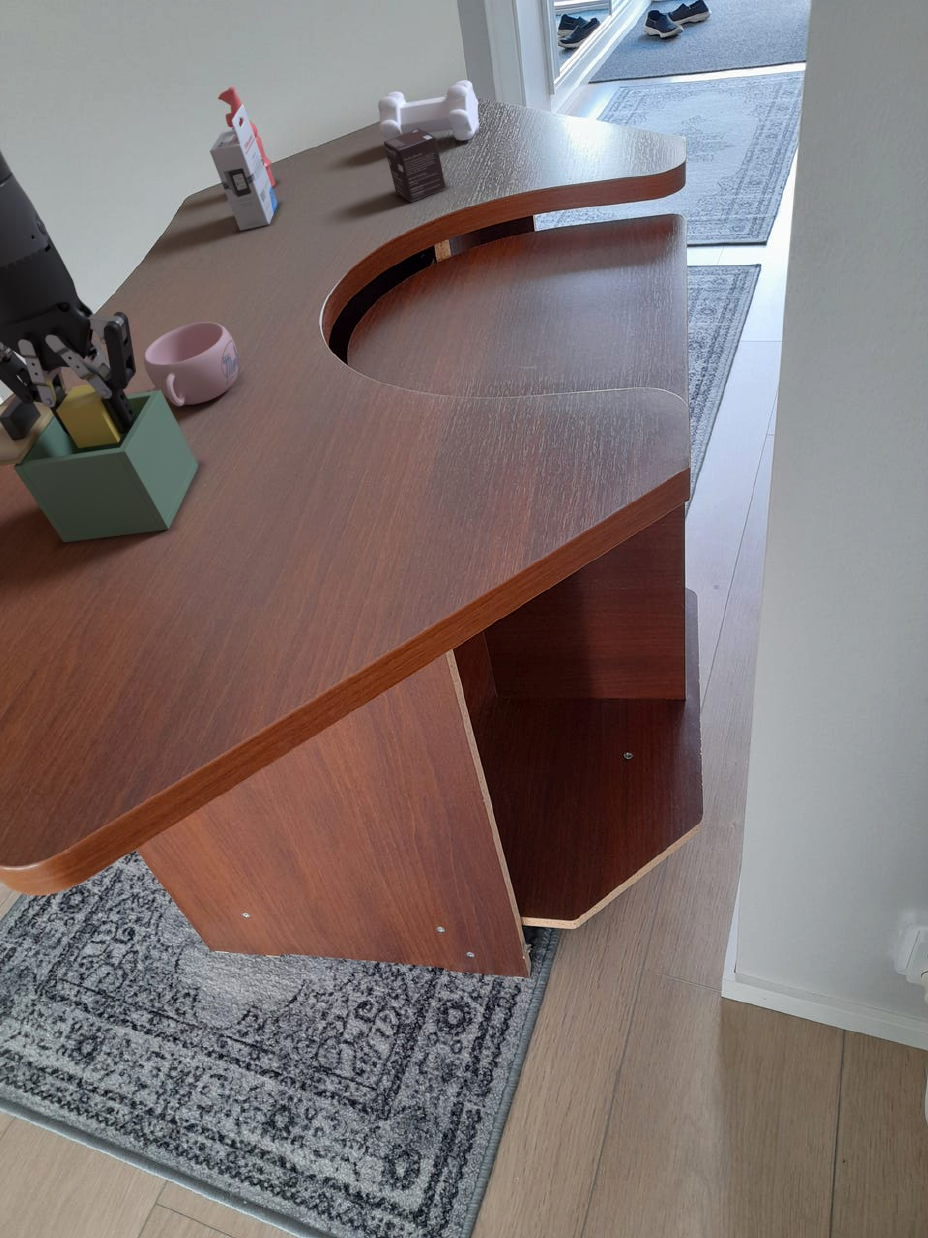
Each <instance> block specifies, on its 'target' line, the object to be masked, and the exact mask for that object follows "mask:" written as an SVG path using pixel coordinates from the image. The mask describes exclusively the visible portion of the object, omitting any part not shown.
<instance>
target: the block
mask: <svg viewBox="0 0 928 1238" xmlns="http://www.w3.org/2000/svg"><path fill="white" fill-rule="evenodd" d="M67 394H68V395H67V396H66V397H65V399H64V400H63V402H62V403H61V404H60V406H59V407H58V409H57V410H56V412H57V413H58V415H59V417H60V418H61V420H62V422H63V423H64V425H65V427H66V428H67V430H68V431H69V433H70V435H71V436H72V438H73V440H74V441H75V443H76V445H77V446H78V448H84V447H91V446H98V445H105V444H112V443H118V442H119V440H120V439H121V437H122V435H123V434H120V433H119V432H118V430H117V428H116V426H115V425H114V423H113V421H112V419H111V418H110V416H109V414H108V412H107V410H106V409H105V407H104V405H103V403H102V401H101V400H102V397H101V396H100V395H99V394H98V393H97V392H96V391H95V389H94V388H93V387H92V386H91V385H90V384H89V383H88V384H81V385H75V386H72V388H71V389H70V390H69V392H68V393H67Z"/></svg>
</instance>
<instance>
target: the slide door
mask: <svg viewBox="0 0 928 1238" xmlns="http://www.w3.org/2000/svg"><path fill="white" fill-rule="evenodd" d="M53 416H54V414H53V412H52V411H51V409H50V408H49V407H47V406H45V405H44V404H43V403H40V402H33V403H32V404H26V403H24V402H23V401H22V400H21V399H19V398H18V397H17V396H16V395H15V396H14V397H13V399H12V400H11V401H10V403H9V404H7V405H0V467H4V466H9V465H15V464H17V463H21V461H22V460H23V458H24V457H25V456H26V454H27V453H28V451H29V450H30V449H31V447H32V446H33V444H34V443H35V442H36V440H37V439H38V437H39V436H40V435H41V433H42V432H43V430H44V429H45V427H46V426H47V425H48V423H49V422H50V420H51V419H52V418H53Z"/></svg>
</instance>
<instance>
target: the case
mask: <svg viewBox="0 0 928 1238" xmlns="http://www.w3.org/2000/svg"><path fill="white" fill-rule="evenodd" d="M125 395H126V396H127V398H128V400H129V402H130V404H131V406H132V408H133V410H134V411H135V416H136V418H135V419H134V424H133V426H132V428H131V429H130V431H129V432H128V433H124V434H123V435H122V437H121V439H120V440H119V442H118V443H112V444H105V445H98V446H91V447H84V448H78V446H77V445H76V443H75V441H74V440H73V438H72V437H71V435H68V434H66V433H65V432H64V431H63V429H62V427H61V425H60V424H59V422H58V421H57V419H56V417H55V416H53V418H52V419H51V420H50V422H49V423H48V425H47V426H46V427H45V429H44V430H43V432H42V433H41V435H40V436H39V437H38V439H37V440H36V442H35V443H34V444H33V446H32V447H31V449H30V450H29V451H28V453H27V454H26V456H25V457H24V458H23V460H22V461H21V463H17V464H14V466H13V469H14V471H15V473H16V474H17V476H18V477H19V478H20V480H21V482H22V483H23V485H24V486H25V487H26V489H27V490H28V491H29V493H30V495H31V496H32V498H33V499H34V501H35V502H36V504H37V505H38V507H39V509H40V510H41V511H42V512H43V515H44V516H45V517H46V519H47V520H48V521H49V523H50V524H51V526H52V527H53V529H54V531H55V532H56V533H57V535H58V536H59V538H60V539H61V541H62V542H63V543H70V542H71V543H72V542H78V541H86V540H87V541H88V540H94V539H103V538H110V537H119V536H127V535H135V534H143V533H151V532H158V531H167V530H170V528H171V525H172V523H173V521H174V519H175V517H176V515H177V513H178V511H179V508H180V507H181V505H182V502H183V500H184V498H185V497H186V494H187V492H188V490H189V488H190V485H191V483H192V481H193V479H194V478H195V474H196V473H197V471H198V468H199V464H198V461H197V459H196V457H195V456H194V454H193V452H192V449H191V447H190V445H189V444H188V441H187V440H186V437H185V436H184V434H183V432H182V429H181V428H180V427H181V426H180V425H179V423H178V422H177V419H176V418H175V415H174V413H173V412H172V409H171V408H170V405H169V404H168V402H167V400H166V396H165V395H163V393H162V391H161V390H158V389H157V390H151V391H145V392H139V393H132V394H125Z"/></svg>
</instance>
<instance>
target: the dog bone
mask: <svg viewBox="0 0 928 1238" xmlns="http://www.w3.org/2000/svg"><path fill="white" fill-rule="evenodd" d="M377 107H378V112H379V113H378V114H379V128H378V129H379V131H380V133H381V134H382V136H383V138H384V141H387V140H390V139H392V138H395V137H398V136H400V135H403V134H406V133H408V132H411V131H413V130H416V129H421V130H423V131H426V132H428V133H429V134H430V133H434V132H442V131H448V130H452V132H453V136H454V138H455V140H458V141H467V140H470V139H472V138H473V137H474V135H475V134H476V133H477V132H478V131H479V129H480V122H479V108H478V107H479V99H478V98H477V96H476V94H475V91H474V88H473V83H472V82H471V81H470V80H467V79H464V80H458V81H456V82H454V83H453V85H451V86H450V87H449V88H448V89H447V91H446V95H445V96H440V97H433V98H427V99H421V100H414V101H408V102H407V100H406V98H405V95H404V94H403V92H401V91H391V92H389V93H387V94H385V96H383V97H382V98H381V99H379V101H378V103H377Z"/></svg>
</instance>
